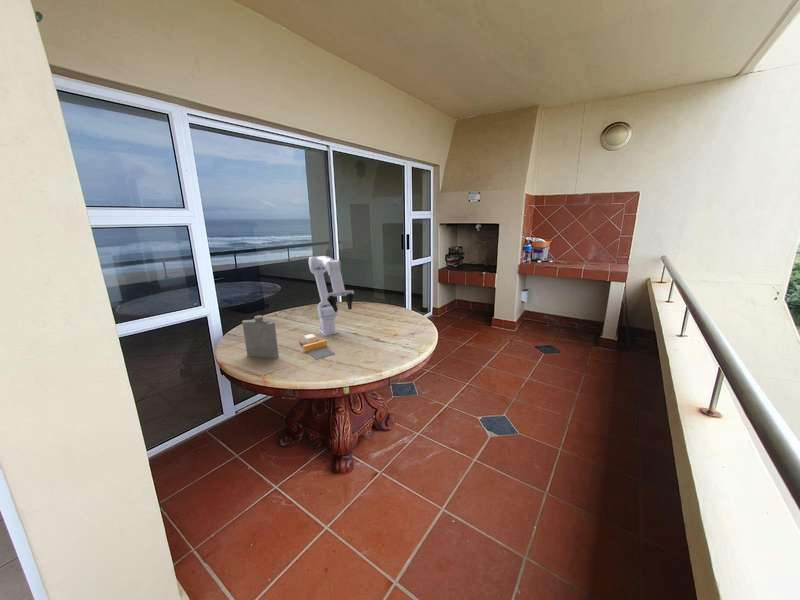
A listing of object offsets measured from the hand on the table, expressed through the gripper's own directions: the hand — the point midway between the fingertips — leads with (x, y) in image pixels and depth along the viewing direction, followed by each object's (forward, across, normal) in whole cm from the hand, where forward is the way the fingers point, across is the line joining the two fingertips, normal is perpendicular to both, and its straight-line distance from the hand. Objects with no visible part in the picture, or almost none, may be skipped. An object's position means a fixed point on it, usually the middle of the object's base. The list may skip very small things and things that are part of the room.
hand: (343, 310), depth 156 cm
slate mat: (+18, -11, +11) cm, 24 cm away
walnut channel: (+12, -11, +22) cm, 28 cm away
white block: (+12, -11, +22) cm, 28 cm away
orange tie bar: (+15, -11, +17) cm, 25 cm away
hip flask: (+12, -34, +25) cm, 44 cm away
